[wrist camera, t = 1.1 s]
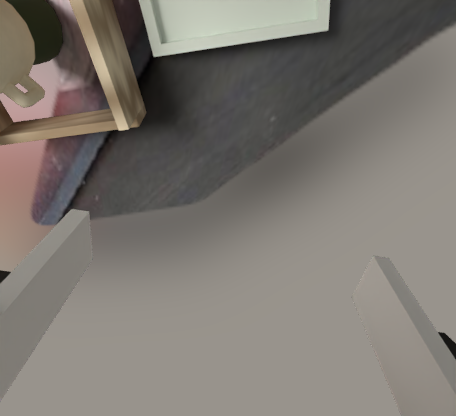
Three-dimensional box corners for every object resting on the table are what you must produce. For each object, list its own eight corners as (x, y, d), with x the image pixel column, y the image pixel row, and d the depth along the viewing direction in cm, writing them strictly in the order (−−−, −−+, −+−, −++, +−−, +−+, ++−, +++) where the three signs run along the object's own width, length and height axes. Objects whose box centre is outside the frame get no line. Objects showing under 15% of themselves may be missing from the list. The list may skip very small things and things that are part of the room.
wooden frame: (-133, -101, 24) (-237, -121, 19) (68, -142, 23) (19, -177, 18) (10, 131, 37) (-28, 160, 31) (146, 112, 35) (132, 138, 30)
